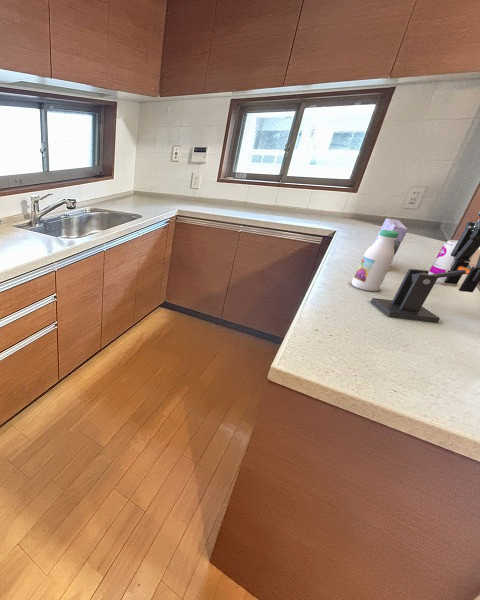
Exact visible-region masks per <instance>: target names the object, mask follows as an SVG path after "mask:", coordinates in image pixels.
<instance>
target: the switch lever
mask: <svg viewBox="0 0 480 600" xmlns="http://www.w3.org/2000/svg"><path fill="white" fill-rule="evenodd" d="M470 270H471V268H468V267H467V268H466V267H463V266H459V267H458V268H457V271H451V272H444V273H437V274H430V275H437V276H438V278H442V277H449V276H456V275H462V276H463V275H466V276H467V275H468V273H469V272H470ZM417 274H427V273H425V272H423V273H416V274H412V282H413V281H414V280H415V278H416V276H417ZM428 275H429V274H428Z"/></svg>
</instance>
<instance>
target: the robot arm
mask: <svg viewBox="0 0 480 600" xmlns="http://www.w3.org/2000/svg"><path fill="white" fill-rule="evenodd" d="M477 216H478V217H480V210H479V211H478V213H477ZM457 240H458V242H457V244H456V246H455V247H454V249H453V251H452V253H451V256H453V257H454V260H455V261H454V263H453V265H452V267H451V269H450V272H451V271H457V268H458V267H459V266H463V267H466V268H468V266H469V265H470V262H471V261H472V259H471V260H470V259H469V258H470V257H471V256H472V255H473V254H474V253H475V254H476V252H477V251H478V249H480V218H479V219H478V220H477V221H467V222H466V223H465V225H464V230H463V232H462V233H461V235H460V237H459V239H457ZM457 252H459V253H457ZM475 254H474V255H475ZM474 255H473V256H474ZM465 261H467V262H465ZM468 262H469V263H468ZM462 277H463V275H456V276H449V277H446V279H445V281H444V283H448V284H453V285H458V283H459V282H460V280H461V278H462ZM479 283H480V255H478V259H477V262H476V264H475V266H471V268H470V272H469V273H468V275H467V274H466V276H465V278H464V279H463V282H462V283H461V285H460V287H459V288H458V291H459V292H465V293H474V292H475V290H476V288H477V286H478V285H479Z"/></svg>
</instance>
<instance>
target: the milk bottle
mask: <svg viewBox="0 0 480 600" xmlns="http://www.w3.org/2000/svg"><path fill="white" fill-rule="evenodd" d="M398 235H399V232H396V231H391V230H381V232H380V234H379V238H378V240H377V241H376V242H375V241H374V242H375V243H374V242H373V243H372V245H370V246H369V247H368V248H367V249H366V251H365V252H364V254H363V256H362V259H361V261H360V262H359V265H358V267H357V270H356V271H355V274H354V276H353V278H352V281H351V285H352V286H353V287H354V288H357V289H360V290H363V291H368V292H377V291H379V290H380V288H381V286H382V285H383V282H384V280H385V278H386V276H387V274H388V272H389V270H390V268H391V266H392V263H393V262H394V261H393V260H394V258H395V256H394V241H395V240H396V239H397V237H398Z"/></svg>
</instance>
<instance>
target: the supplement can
mask: <svg viewBox="0 0 480 600" xmlns="http://www.w3.org/2000/svg"><path fill="white" fill-rule="evenodd" d="M458 240H459V239H448V240H447V241H446V242H444V243H443V245H442V246H441V249H440V250H439V252H438V254H437V256H436V258H435V259H434V261H433V263H432V265H431V267H430V268H429V270H428V271H429V272H428V274H429V275H430V274H437V273H444V272H450V269H451V267H452V265H453V263H454V261H455V260H454V257H453V256H451V253H452V251H453V249H454V247H455V246H456V244H457V242H458ZM457 253H459V252H457ZM475 254H476V252H475V253H474V254H473V255H472V256H471V257H470V258H469V259H470V260H471V261H472V260H473V257H474V255H475ZM465 262H467V261H465ZM468 263H469V264H470V262H468ZM445 279H446V277H442V278H438V279H437V280H436V282H435V284H438V285H443V286H454V284H448V283H444V281H445Z"/></svg>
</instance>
